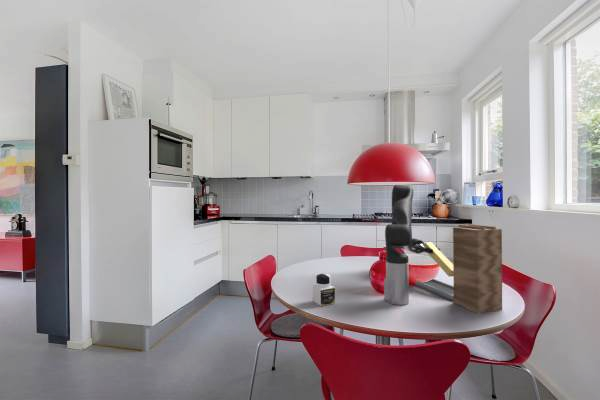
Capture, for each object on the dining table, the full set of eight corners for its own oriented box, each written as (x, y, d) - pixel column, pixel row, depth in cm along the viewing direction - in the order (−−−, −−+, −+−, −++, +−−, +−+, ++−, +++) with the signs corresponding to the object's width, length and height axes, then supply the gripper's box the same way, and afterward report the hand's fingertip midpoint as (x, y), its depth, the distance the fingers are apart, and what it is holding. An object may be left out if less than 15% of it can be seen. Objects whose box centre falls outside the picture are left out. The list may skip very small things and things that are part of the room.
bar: (448, 276, 130) (452, 270, 128) (423, 248, 147) (425, 242, 145) (455, 275, 131) (458, 270, 129) (428, 247, 147) (431, 242, 146)
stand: (478, 313, 110) (477, 227, 110) (453, 302, 122) (453, 225, 122) (502, 309, 114) (501, 226, 113) (476, 299, 125) (475, 224, 125)
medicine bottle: (320, 306, 119) (320, 277, 119) (312, 301, 125) (312, 273, 125) (335, 303, 122) (334, 275, 122) (326, 298, 128) (325, 271, 128)
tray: (452, 301, 123) (452, 295, 123) (415, 284, 147) (415, 280, 147) (473, 298, 126) (473, 293, 126) (433, 282, 150) (433, 278, 150)
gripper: (402, 239, 155) (423, 244, 138) (424, 237, 158) (448, 242, 142) (402, 252, 155) (423, 259, 138) (424, 251, 159) (448, 257, 142)
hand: (436, 251), depth 140 cm, fingers closed on bar, 3 cm apart
